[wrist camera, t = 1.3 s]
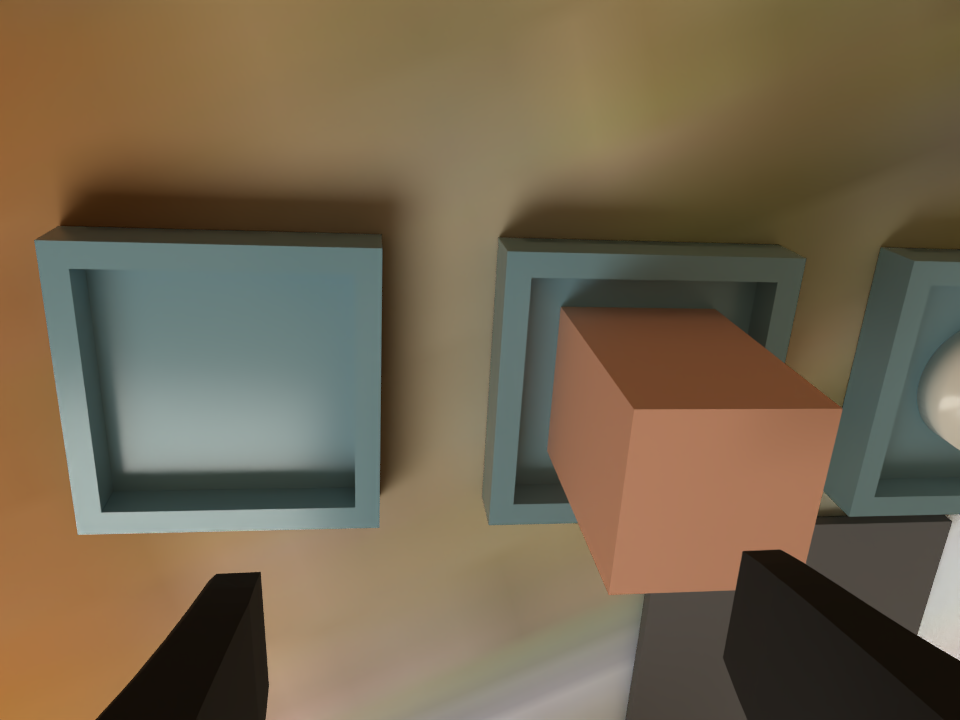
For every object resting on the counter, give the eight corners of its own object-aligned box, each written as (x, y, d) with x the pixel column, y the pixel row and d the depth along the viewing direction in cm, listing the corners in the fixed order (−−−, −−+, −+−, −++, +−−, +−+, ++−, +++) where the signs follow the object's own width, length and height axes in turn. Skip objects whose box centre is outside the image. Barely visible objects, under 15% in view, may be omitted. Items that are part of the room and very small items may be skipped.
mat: (874, 740, 28) (881, 750, 27) (619, 757, 26) (623, 767, 26) (943, 514, 24) (951, 521, 24) (656, 520, 23) (660, 528, 23)
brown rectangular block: (693, 449, 22) (803, 587, 16) (546, 451, 21) (609, 595, 16) (717, 309, 20) (846, 408, 15) (560, 306, 20) (634, 409, 14)
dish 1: (378, 498, 22) (379, 527, 20) (96, 503, 21) (77, 534, 19) (381, 234, 19) (382, 248, 18) (58, 225, 18) (34, 240, 17)
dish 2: (731, 491, 23) (752, 519, 22) (481, 496, 22) (488, 524, 21) (778, 244, 20) (806, 258, 19) (498, 237, 19) (507, 251, 18)
